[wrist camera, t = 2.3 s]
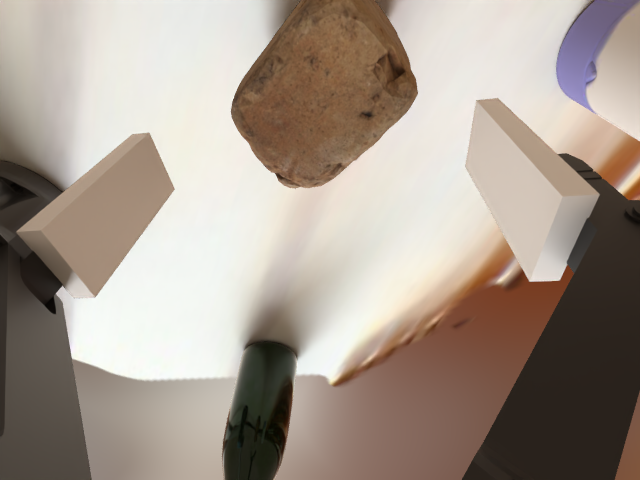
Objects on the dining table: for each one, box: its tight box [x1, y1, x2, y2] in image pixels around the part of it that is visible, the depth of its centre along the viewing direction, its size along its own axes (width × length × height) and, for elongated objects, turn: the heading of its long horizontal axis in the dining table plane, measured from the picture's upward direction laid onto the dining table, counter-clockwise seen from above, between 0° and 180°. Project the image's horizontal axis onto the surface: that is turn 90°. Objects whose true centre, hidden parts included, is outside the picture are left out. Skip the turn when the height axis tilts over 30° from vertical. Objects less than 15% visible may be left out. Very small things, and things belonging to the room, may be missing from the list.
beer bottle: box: [222, 342, 297, 480], centre depth 53 cm, size 10×10×33 cm
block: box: [231, 0, 418, 188], centre depth 24 cm, size 11×8×20 cm
